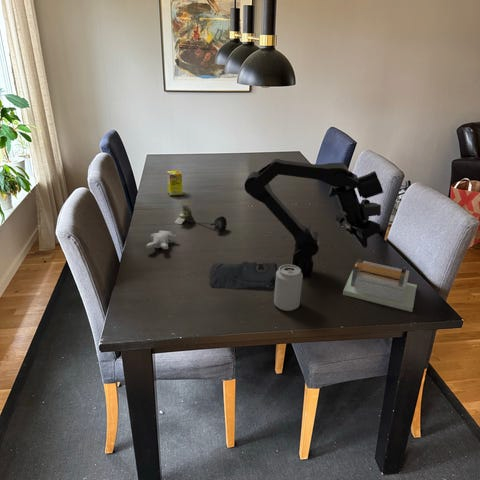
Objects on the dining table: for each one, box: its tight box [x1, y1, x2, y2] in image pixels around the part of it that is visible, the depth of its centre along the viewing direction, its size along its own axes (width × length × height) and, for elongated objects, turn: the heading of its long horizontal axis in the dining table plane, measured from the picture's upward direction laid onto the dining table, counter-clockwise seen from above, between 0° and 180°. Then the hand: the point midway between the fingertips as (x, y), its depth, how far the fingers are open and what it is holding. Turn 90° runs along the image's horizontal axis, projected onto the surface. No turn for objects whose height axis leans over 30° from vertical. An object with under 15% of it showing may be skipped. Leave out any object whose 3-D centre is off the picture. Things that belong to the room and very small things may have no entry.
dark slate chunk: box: [208, 261, 278, 292], centre depth 137 cm, size 15×22×5 cm
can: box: [273, 264, 304, 312], centre depth 122 cm, size 8×8×12 cm
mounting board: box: [342, 269, 418, 313], centre depth 132 cm, size 20×14×2 cm
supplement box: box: [166, 170, 183, 198], centre depth 205 cm, size 6×6×11 cm
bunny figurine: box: [145, 230, 178, 250], centre depth 155 cm, size 10×5×15 cm
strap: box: [354, 261, 405, 279], centre depth 130 cm, size 15×4×1 cm, turn 65°
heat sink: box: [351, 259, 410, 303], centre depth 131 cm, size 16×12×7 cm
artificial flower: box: [174, 204, 228, 234], centre depth 173 cm, size 9×22×10 cm, turn 56°
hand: (365, 247), depth 135 cm, fingers closed
